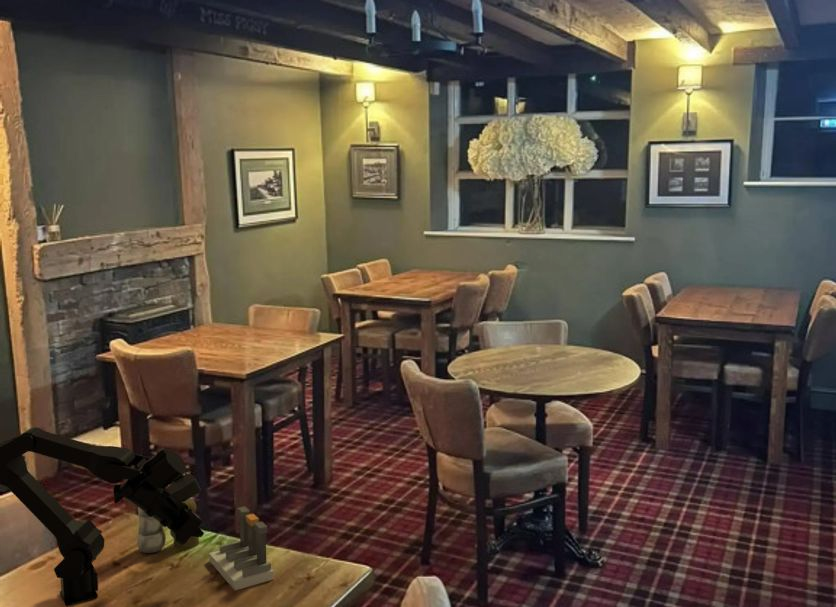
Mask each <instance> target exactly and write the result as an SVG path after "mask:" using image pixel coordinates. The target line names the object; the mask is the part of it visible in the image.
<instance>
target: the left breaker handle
mask: <svg viewBox="0 0 836 607" xmlns="http://www.w3.org/2000/svg"><path fill="white" fill-rule="evenodd" d="M249 514H251V511H250V509H249V508H248V507H246V506H241V507H237V515H238V517H239V541H240V548H243V547H247V546H248V523H247V522H246V515H249Z"/></svg>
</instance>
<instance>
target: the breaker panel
mask: <svg viewBox="0 0 836 607" xmlns="http://www.w3.org/2000/svg"><path fill="white" fill-rule="evenodd" d="M208 557H209V562H210V564H211V565H212V566H213V567H214V568H215V570H216V571H218V573H219V574H220V575H221V576H222V577H223V578H224V580H225V581H226V582H227V583H228V584H229V586H230V587H231V588H232V589H233V590H234V591H238V589H239V590H242V589H244V588H248V587H252V586H256V585H260V584H263V583H267V582H268V581H269V582H270V581H273V580H274V579H275V576H274V575H275V573H274V572H275V570H273V568H272V563H271V562H266V563H265V564H261V565H257V555H253V556H249V546H247V547H243V548H240V540H236V541H233V542H229V543H226V544H221V545H219V550H217V551H212V552H208Z"/></svg>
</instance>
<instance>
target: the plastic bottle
mask: <svg viewBox="0 0 836 607" xmlns="http://www.w3.org/2000/svg"><path fill="white" fill-rule="evenodd" d="M137 513H138V514H137V515H138V531H137V532H138V533H137V537H136V543H137V548H138V550H139V551H140V552H141V553H144V554H152V553H156V552H159V551H161V550H162V549H164V547H165V545H166V540H167V539H166V538H167V536H166V531H165V527H164V526H162V525H161V524H160V523H159V521H157V520H156V519H154V518H153V517H149V516H148V515H147V514H146V513H145V512H144V511H143V510H141V509H140V508H139V507H137Z"/></svg>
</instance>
